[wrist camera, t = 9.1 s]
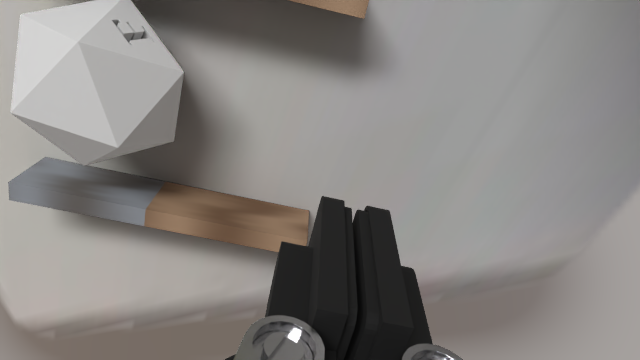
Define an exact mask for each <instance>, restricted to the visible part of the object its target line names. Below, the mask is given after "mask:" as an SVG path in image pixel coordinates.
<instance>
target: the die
mask: <svg viewBox="0 0 640 360" xmlns="http://www.w3.org/2000/svg"><path fill="white" fill-rule="evenodd" d="M183 76H184V71H183V70H182V68H181V67H180V65H179V64H178V63H177V61H176V60H175V58H174V57H173V56H172V54H171V53H170V52H169V50H168V49H167V48H166V46H165V45H164V44H163V42H162V41H161V40H160V38H159V37H158V36H157V34H156V33H155V32H154V30H153V29H152V28H151V26H150V25H149V24H148V22H147V21H146V20H145V18H144V17H143V16H142V14H141V13H140V12H139V10H138V9H137V8H136V6H135V5H134V4H133V2H132V1H131V0H94V1H88V2H83V3H78V4H72V5H67V6H62V7H56V8H51V9H45V10H40V11H35V12H29V13H24V14H20V23H19V33H18V43H17V53H16V63H15V73H14V83H13V93H12V103H11V114H13V115H14V116H15V117H17V118H18V119H20V120H21V121H22V122H24V123H25V124H27V125H28V126H29V127H31V128H32V129H33V130H35V131H36V132H38V133H39V134H40V135H42V136H43V137H45V138H46V139H47V140H49V141H50V142H51V143H53V144H54V145H56V146H57V147H58V148H60V149H61V150H62V151H64V152H65V153H67V154H68V155H69V156H71V157H72V158H74V159H75V160H76V161H78V162H79V163H80V164H82V165H83V166H85V165H89V164H93V163H97V162H100V161H104V160H108V159H111V158H115V157H119V156H122V155H126V154H130V153H133V152H137V151H141V150H145V149H148V148H152V147H156V146H159V145H163V144H167V143H170V142H174V138H175V131H176V124H177V118H178V111H179V104H180V97H181V90H182V83H183Z"/></svg>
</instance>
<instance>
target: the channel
mask: <svg viewBox="0 0 640 360" xmlns="http://www.w3.org/2000/svg"><path fill="white" fill-rule="evenodd" d="M289 1H293V2H297V3H302V4H306V5H310V6H314V7H318V8H322V9H326V10H330V11H334V12H338V13H343V14H347V15H351V16H355V17H359V18H363V19H364V17H365V13H366V9H367V6H368V2H369V0H289ZM8 184H9V200H12V201H17V202H22V203H27V204H32V205H38V206H43V207H48V208H53V209H58V210H63V211H69V212H74V213H79V214H84V215H89V216H94V217H99V218H105V219H110V220H115V221H120V222H125V223H130V224H136V225H141V226H146V227H151V228H156V229H161V230H167V231H172V232H177V233H182V234H187V235H192V236H197V237H203V238H208V239H213V240H218V241H223V242H228V243H234V244H239V245H244V246H249V247H254V248H259V249H265V250H270V251H275V252H279V249H280V245H281V241H283V242H288V243H293V244H298V245H303V246H306V245H307V239H308V220H309V211H308V210H303V209H298V208H293V207H288V206H283V205H279V204H274V203H269V202H264V201H259V200H254V199H249V198H244V197H239V196H234V195H229V194H224V193H219V192H215V191H210V190H205V189H200V188H195V187H190V186H185V185H180V184H175V183H170V182H165V181H160V180H156V179H151V178H146V177H141V176H136V175H131V174H126V173H121V172H116V171H111V170H106V169H101V168H96V167H92V166H87V165H85V166H83V165H82V164H77V163H72V162H67V161H62V160H57V159H52V158H47V157H45V158H43V159H42V160H40V161H39V162H37V163H36V164H34V165H33V166H31V167H30V168H29V169H27V170H26V171H24V172H23V173H21V174H20V175H18V176H17V177H15V178H14V179H12V180H11V181H10V182H8Z"/></svg>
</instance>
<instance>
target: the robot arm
mask: <svg viewBox="0 0 640 360" xmlns="http://www.w3.org/2000/svg"><path fill="white" fill-rule="evenodd" d="M225 360H463V359H462V358H460V357H459V356H457V355H456V354H454V353H453V352H451V351H450V350H447V349H445V348H443V347H440V346H437V345H433V344H432V340H431V336H430V332H429V327H428V324H427V319H426V315H425V311H424V307H423V303H422V299H421V295H420V291H419V287H418V283H417V279H416V275H415V272H414V270H413V269H412V268H409V267H404V266H401V264H400V259H399V254H398V249H397V244H396V239H395V235H394V230H393V225H392V220H391V215H390V211H389V210H385V209H380V208H375V207H371V206H366V208H365V210H364V211H362V210H357V211H356V214H355V217H354V220H353V223H352V209H351V208H348V207H345V206H344V201H343V200H338V199H334V198H329V197H324V196H322V198H321V201H320V204H319V208H318V212H317V216H316V219H315V223H314V227H313V231H312V235H311V238H310V242H309V246H303V245H298V244H293V243H288V242H283V241H281V245H280V249H279V253H278V258H277V262H276V267H275V271H274V276H273V280H272V285H271V290H270V294H269V299H268V304H267V310H266V315H265V318H261V319H259V320H258V321H256V322H255V323H253V324H252V325H251V326H250V328H249V329H248V330H247V332H246V333H245V335H244V338H243V340H242V342H241V344H240V346H239V349H238V351H237V353H236V354H235V355H233V356H231V357H229V358H227V359H225Z"/></svg>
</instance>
